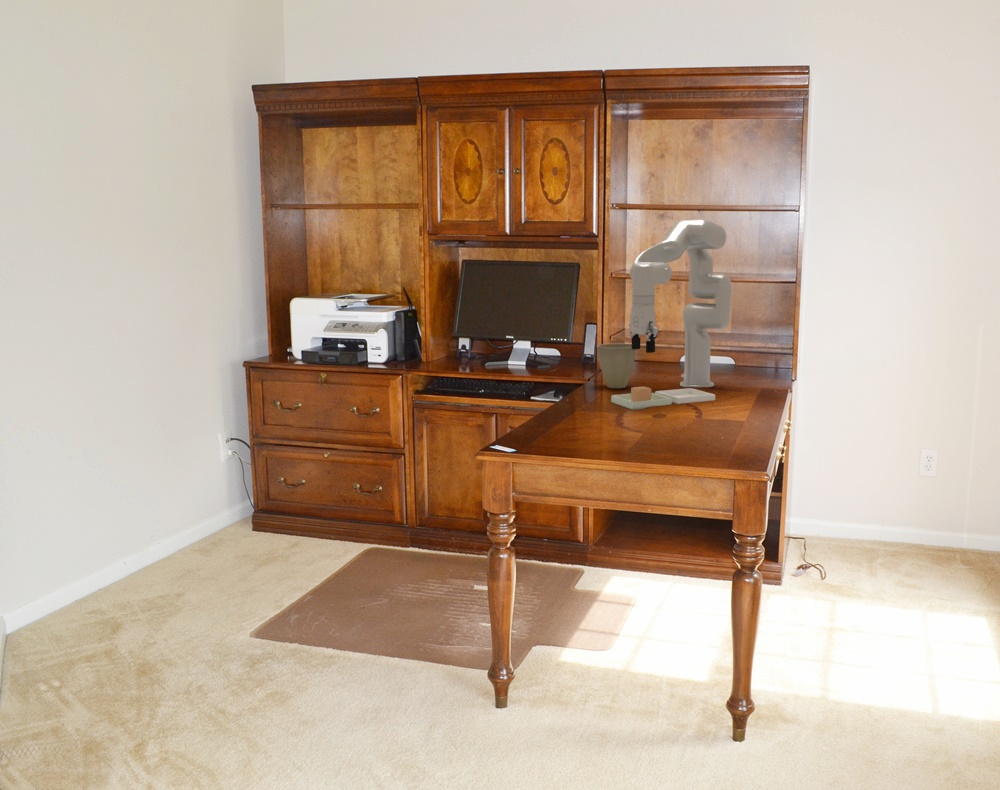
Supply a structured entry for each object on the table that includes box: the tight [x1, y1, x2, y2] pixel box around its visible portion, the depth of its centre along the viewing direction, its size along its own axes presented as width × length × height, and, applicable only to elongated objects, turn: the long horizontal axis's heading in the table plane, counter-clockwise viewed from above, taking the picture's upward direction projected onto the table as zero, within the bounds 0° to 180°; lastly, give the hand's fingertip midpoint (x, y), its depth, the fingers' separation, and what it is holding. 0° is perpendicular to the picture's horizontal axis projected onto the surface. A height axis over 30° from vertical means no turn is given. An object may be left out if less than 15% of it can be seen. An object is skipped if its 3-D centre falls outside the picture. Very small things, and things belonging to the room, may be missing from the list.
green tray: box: [610, 392, 673, 410], centre depth 327 cm, size 15×15×2 cm
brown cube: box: [630, 386, 652, 402], centre depth 327 cm, size 5×5×5 cm
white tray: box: [654, 387, 716, 405], centre depth 333 cm, size 15×15×2 cm
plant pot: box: [596, 342, 637, 389], centre depth 361 cm, size 15×15×16 cm
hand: (643, 350), depth 325 cm, fingers open, 9 cm apart
